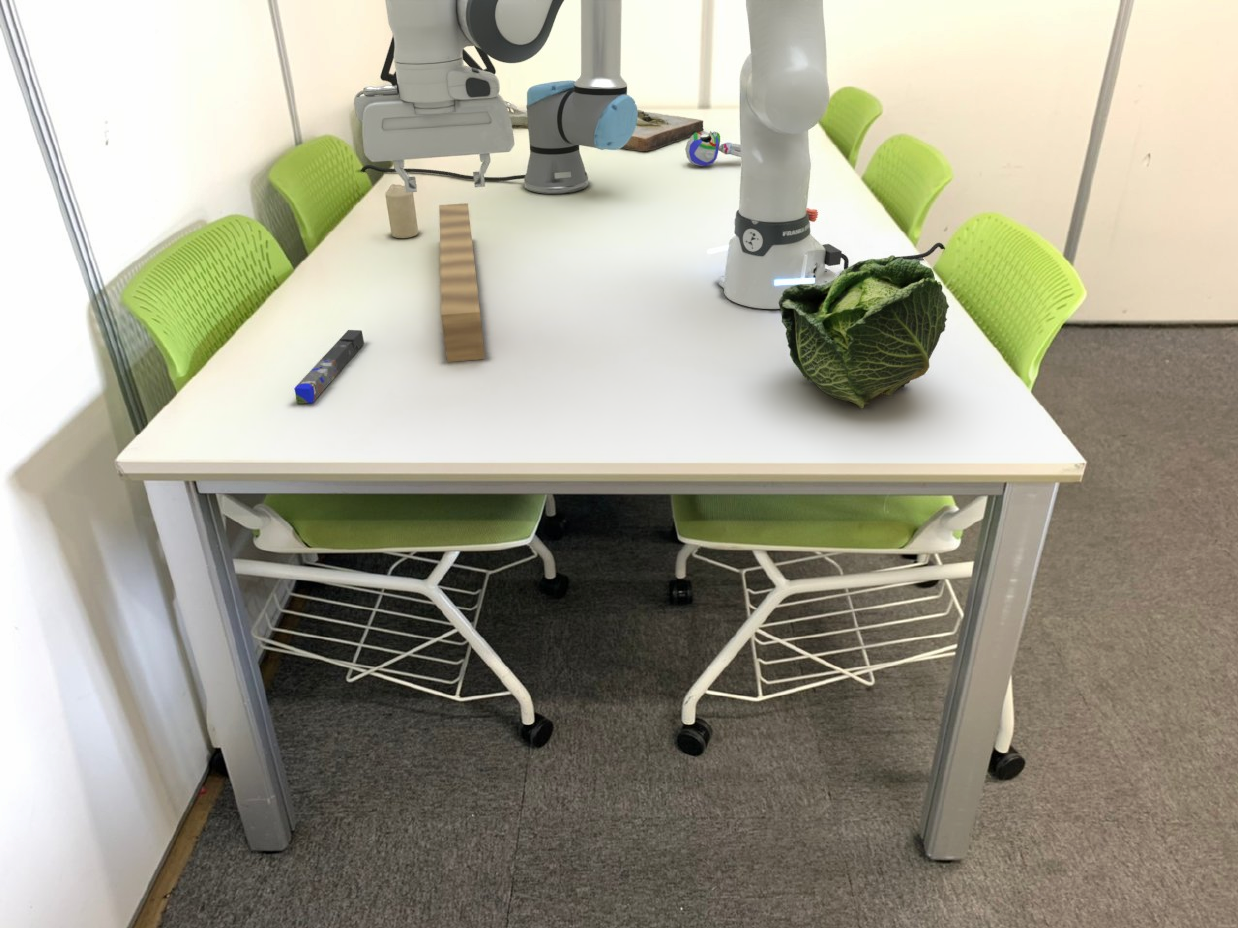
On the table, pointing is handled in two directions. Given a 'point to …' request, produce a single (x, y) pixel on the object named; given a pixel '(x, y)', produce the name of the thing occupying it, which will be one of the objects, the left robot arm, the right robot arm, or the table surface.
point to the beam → (459, 286)
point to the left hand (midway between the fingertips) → (444, 119)
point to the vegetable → (865, 327)
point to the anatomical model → (517, 115)
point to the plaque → (661, 130)
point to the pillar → (328, 367)
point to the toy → (708, 148)
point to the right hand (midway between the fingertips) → (445, 189)
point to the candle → (401, 212)
